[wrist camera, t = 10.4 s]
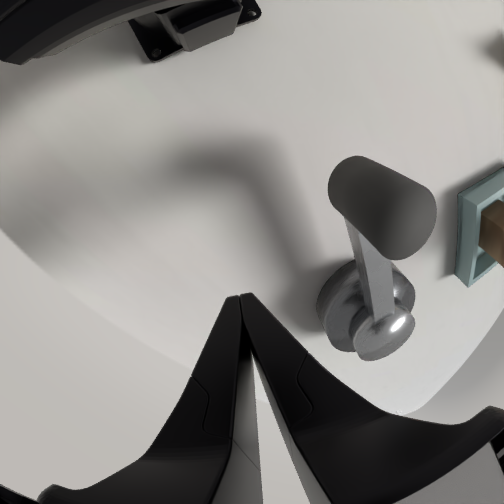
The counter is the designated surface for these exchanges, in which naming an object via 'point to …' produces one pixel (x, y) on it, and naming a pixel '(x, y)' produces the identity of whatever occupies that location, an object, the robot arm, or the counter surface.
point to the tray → (475, 227)
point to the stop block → (493, 231)
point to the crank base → (352, 302)
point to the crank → (380, 245)
